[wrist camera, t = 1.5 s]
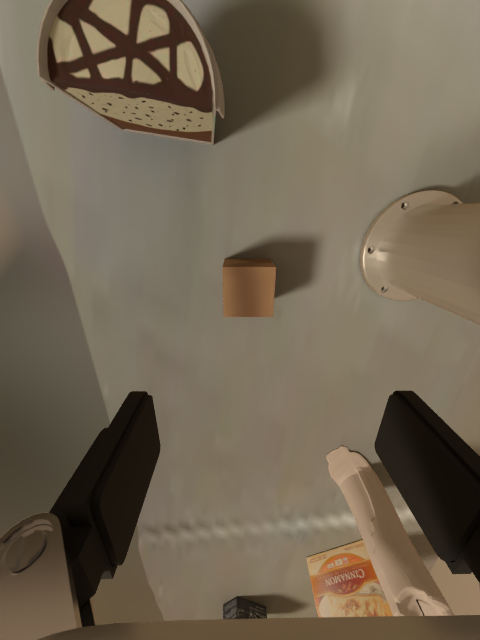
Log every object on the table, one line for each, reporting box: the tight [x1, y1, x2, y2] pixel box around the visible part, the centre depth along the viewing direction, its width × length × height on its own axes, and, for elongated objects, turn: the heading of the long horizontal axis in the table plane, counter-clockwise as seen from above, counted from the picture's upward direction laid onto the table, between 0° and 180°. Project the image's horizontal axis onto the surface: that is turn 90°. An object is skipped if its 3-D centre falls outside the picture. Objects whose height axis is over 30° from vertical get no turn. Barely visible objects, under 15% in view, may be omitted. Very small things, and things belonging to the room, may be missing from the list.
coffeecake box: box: [306, 540, 393, 617], centre depth 48 cm, size 15×7×20 cm, turn 120°
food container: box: [37, 0, 225, 145], centre depth 19 cm, size 12×6×10 cm, turn 83°
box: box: [223, 596, 267, 619], centre depth 61 cm, size 11×7×10 cm, turn 50°
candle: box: [326, 446, 454, 616], centre depth 36 cm, size 7×14×20 cm, turn 36°
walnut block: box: [223, 259, 276, 317], centre depth 28 cm, size 6×6×6 cm
